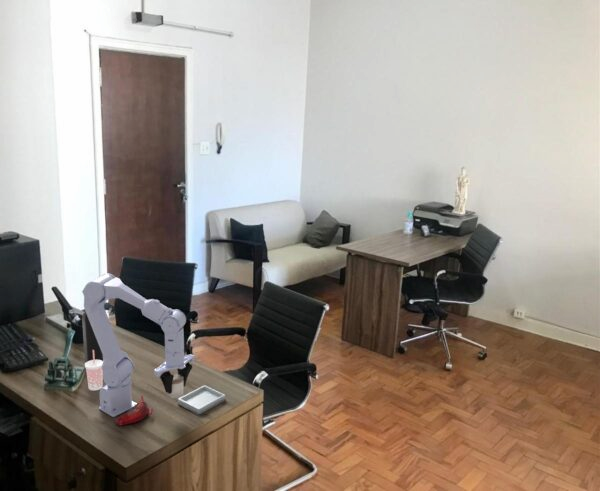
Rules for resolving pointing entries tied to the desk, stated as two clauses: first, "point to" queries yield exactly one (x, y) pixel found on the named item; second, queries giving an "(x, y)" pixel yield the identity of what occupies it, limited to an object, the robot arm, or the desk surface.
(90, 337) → the wine bottle
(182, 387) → the espresso cup
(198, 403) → the tray
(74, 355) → the desk surface
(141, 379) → the desk surface
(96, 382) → the beverage cup
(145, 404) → the decorative bird figurine
